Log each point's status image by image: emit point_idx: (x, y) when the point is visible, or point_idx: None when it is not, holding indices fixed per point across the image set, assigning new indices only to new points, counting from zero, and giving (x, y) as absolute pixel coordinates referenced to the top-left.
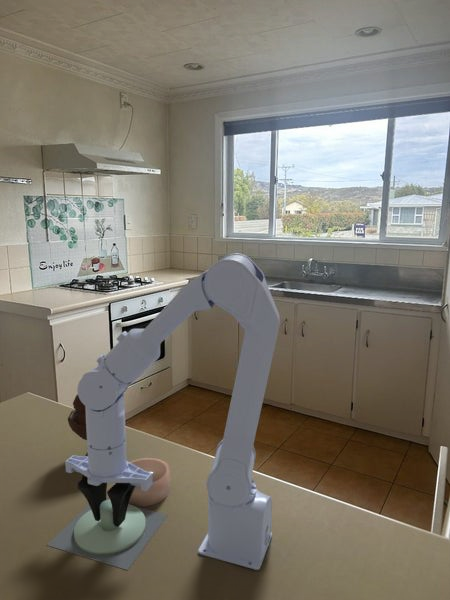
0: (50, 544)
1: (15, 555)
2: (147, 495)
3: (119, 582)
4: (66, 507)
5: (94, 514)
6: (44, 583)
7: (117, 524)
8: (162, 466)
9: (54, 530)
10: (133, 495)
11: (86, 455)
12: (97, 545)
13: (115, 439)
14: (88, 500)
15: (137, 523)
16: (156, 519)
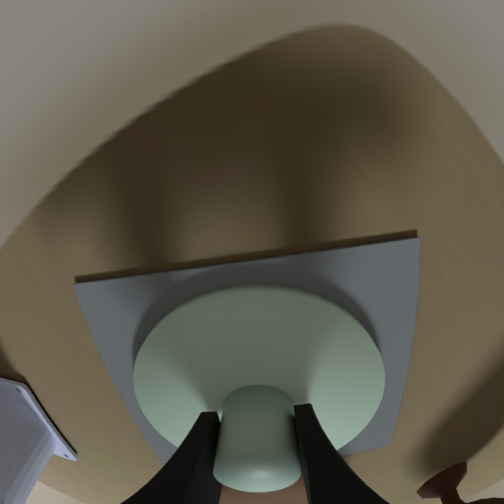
0: (411, 245)
1: (470, 153)
2: (231, 498)
3: (63, 236)
4: (451, 381)
5: (308, 424)
6: (280, 88)
7: (199, 418)
8: None
9: (439, 304)
10: (268, 492)
11: (464, 471)
12: (217, 322)
13: None
14: (342, 474)
15: (183, 434)
16: (171, 451)
